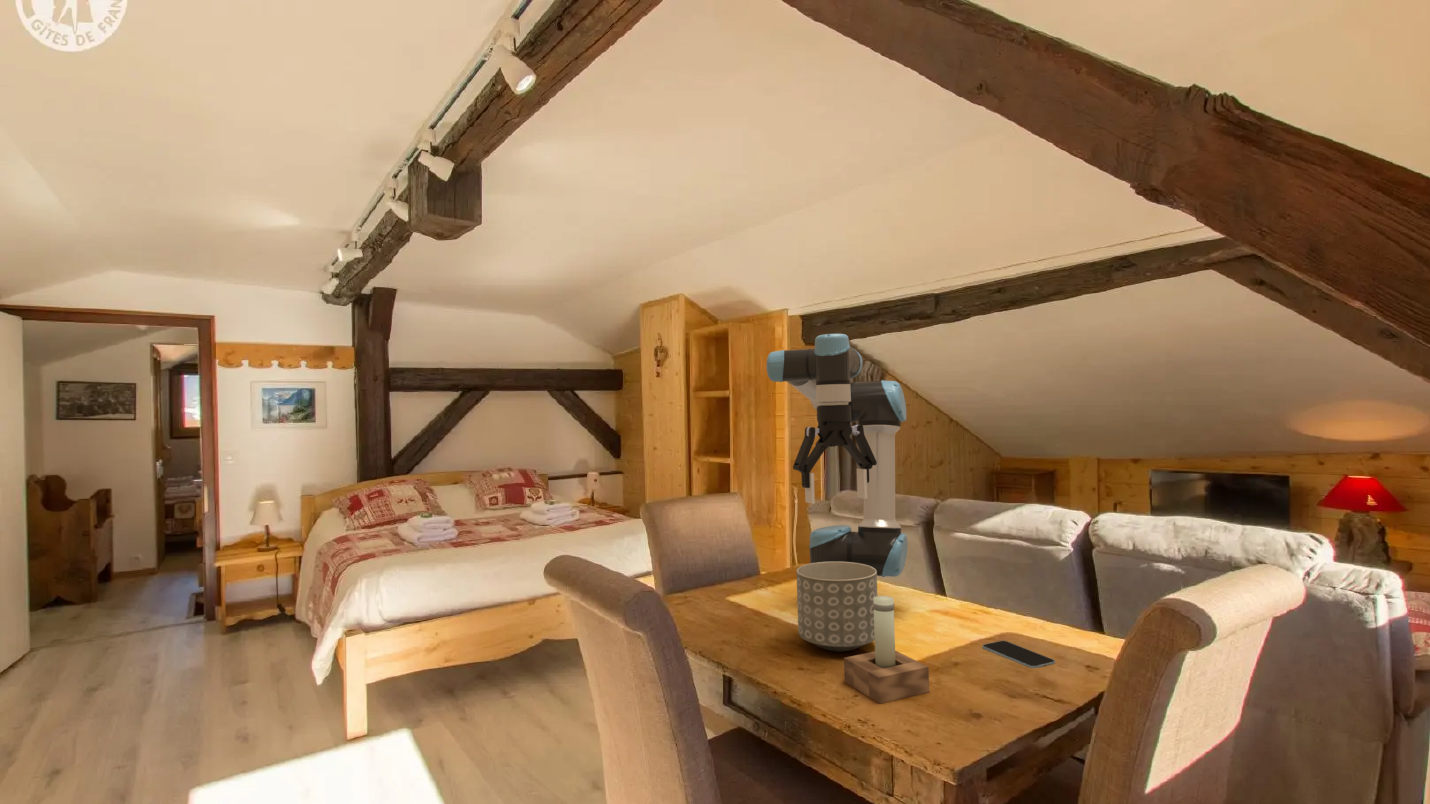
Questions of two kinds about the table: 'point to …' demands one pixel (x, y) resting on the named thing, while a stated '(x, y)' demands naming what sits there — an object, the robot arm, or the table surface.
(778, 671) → the table surface
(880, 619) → the banded green cylinder
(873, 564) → the robot arm
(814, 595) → the planter
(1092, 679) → the table surface
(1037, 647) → the table surface
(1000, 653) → the smartphone
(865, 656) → the square wooden socket block
